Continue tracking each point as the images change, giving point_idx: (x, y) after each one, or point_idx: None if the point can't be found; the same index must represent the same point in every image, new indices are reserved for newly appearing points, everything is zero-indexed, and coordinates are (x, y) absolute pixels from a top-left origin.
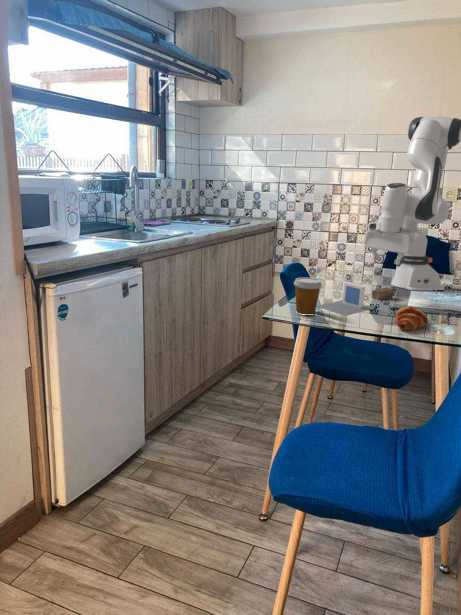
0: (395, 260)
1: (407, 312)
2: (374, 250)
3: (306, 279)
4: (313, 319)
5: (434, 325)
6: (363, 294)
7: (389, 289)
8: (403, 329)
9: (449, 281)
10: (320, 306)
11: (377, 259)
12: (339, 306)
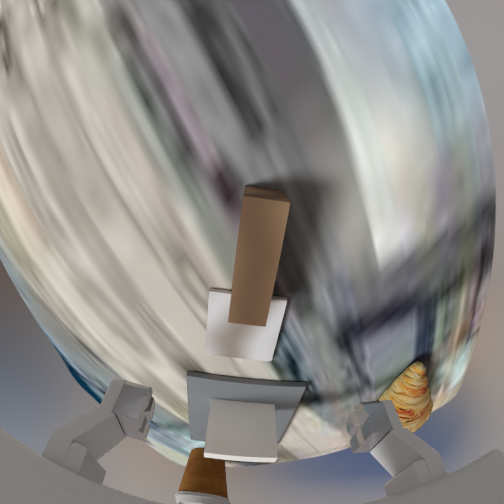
0: (361, 447)
1: None
2: (102, 476)
3: (189, 502)
4: (239, 462)
5: (442, 368)
6: (275, 438)
7: (280, 237)
8: None
9: None
10: (199, 436)
11: (148, 400)
12: None
